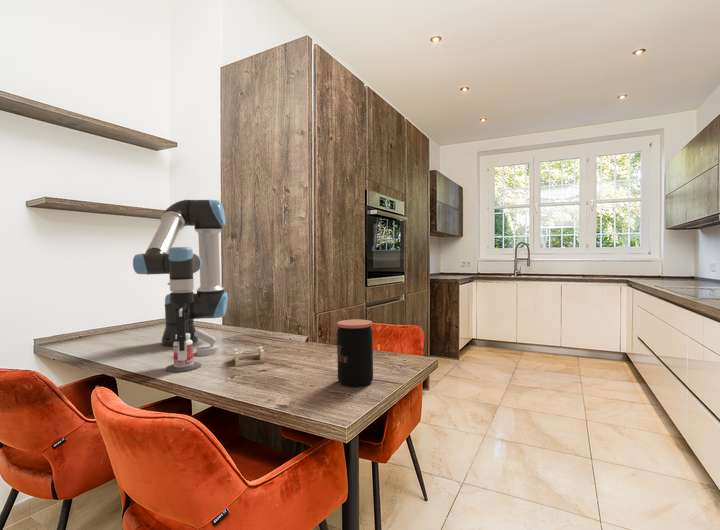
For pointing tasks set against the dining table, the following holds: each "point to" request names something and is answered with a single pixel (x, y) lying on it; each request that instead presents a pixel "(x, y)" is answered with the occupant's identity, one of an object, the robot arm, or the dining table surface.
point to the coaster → (174, 369)
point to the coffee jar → (355, 352)
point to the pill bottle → (189, 353)
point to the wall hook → (207, 349)
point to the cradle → (260, 355)
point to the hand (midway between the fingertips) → (183, 356)
